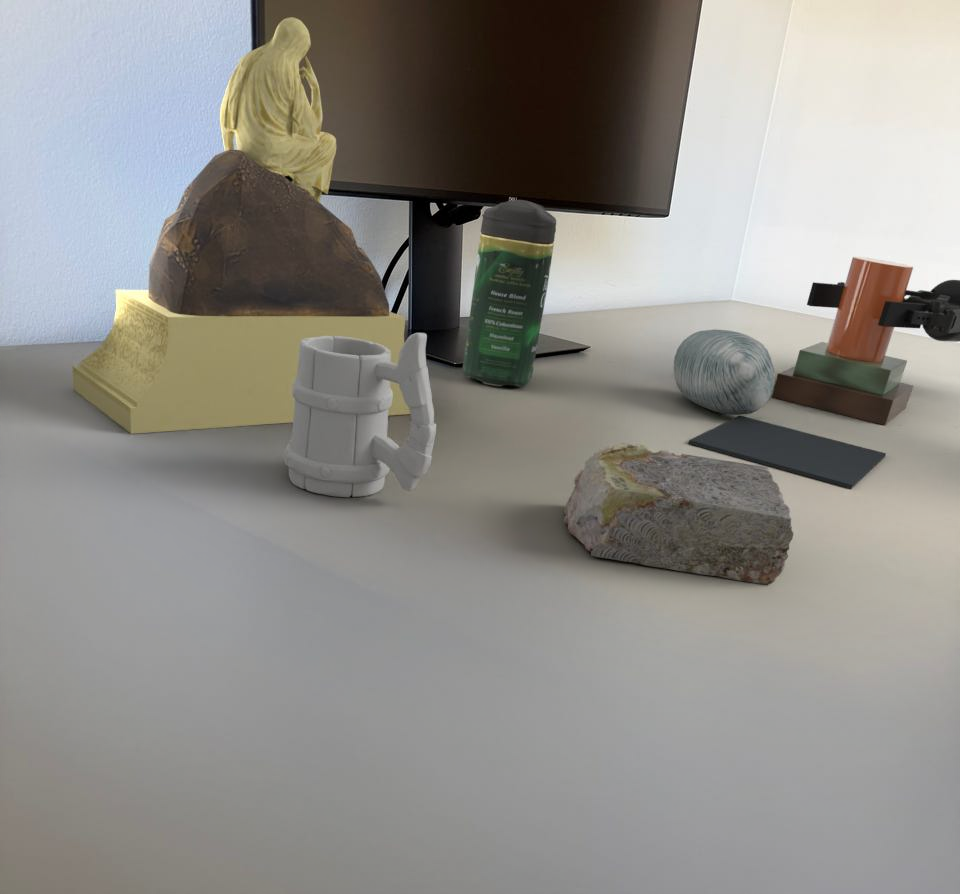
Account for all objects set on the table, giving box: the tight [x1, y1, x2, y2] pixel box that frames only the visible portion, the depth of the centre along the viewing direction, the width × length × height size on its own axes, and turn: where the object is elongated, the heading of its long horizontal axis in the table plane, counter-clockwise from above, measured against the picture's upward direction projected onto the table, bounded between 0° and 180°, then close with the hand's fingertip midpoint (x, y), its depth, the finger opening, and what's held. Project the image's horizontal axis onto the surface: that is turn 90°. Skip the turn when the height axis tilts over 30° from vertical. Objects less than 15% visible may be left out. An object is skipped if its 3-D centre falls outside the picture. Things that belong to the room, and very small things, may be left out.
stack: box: [771, 341, 914, 426], centre depth 122 cm, size 14×14×6 cm
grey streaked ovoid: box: [673, 328, 775, 416], centre depth 109 cm, size 14×10×10 cm
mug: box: [284, 332, 437, 498], centre depth 69 cm, size 8×12×12 cm, turn 59°
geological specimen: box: [563, 442, 795, 585], centre depth 69 cm, size 11×6×15 cm
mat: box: [688, 415, 887, 490], centre depth 98 cm, size 16×16×1 cm
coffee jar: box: [462, 199, 557, 388], centre depth 105 cm, size 10×8×19 cm
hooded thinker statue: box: [72, 16, 411, 435], centre depth 81 cm, size 28×13×30 cm, turn 129°
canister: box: [826, 256, 914, 362], centre depth 118 cm, size 7×7×11 cm
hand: (846, 303), depth 116 cm, fingers open, 11 cm apart
